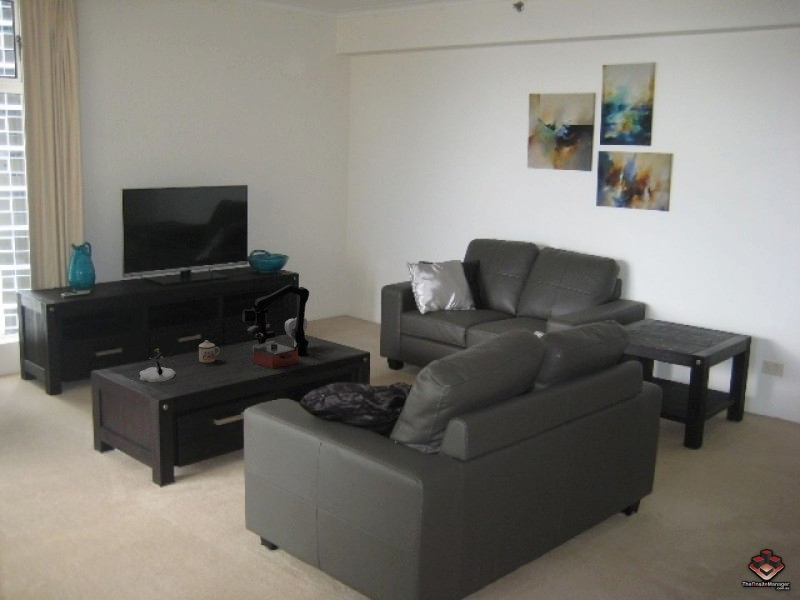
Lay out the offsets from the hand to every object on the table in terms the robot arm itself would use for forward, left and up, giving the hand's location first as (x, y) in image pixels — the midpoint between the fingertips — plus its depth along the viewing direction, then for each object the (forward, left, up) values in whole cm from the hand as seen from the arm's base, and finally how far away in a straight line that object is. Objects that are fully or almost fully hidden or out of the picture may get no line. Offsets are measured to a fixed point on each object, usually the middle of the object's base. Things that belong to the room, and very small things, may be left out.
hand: (261, 347), depth 496 cm
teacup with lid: (+24, -16, -7) cm, 30 cm away
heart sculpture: (-30, -4, -7) cm, 31 cm away
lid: (0, +11, -1) cm, 11 cm away
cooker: (0, +14, -6) cm, 15 cm away
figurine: (+62, -10, -7) cm, 63 cm away
